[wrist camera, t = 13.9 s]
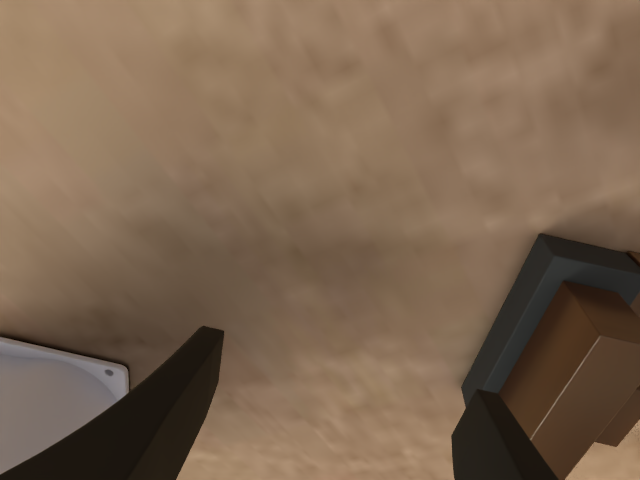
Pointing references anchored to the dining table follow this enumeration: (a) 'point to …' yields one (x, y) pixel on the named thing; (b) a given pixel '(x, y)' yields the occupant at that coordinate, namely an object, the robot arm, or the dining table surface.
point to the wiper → (564, 347)
